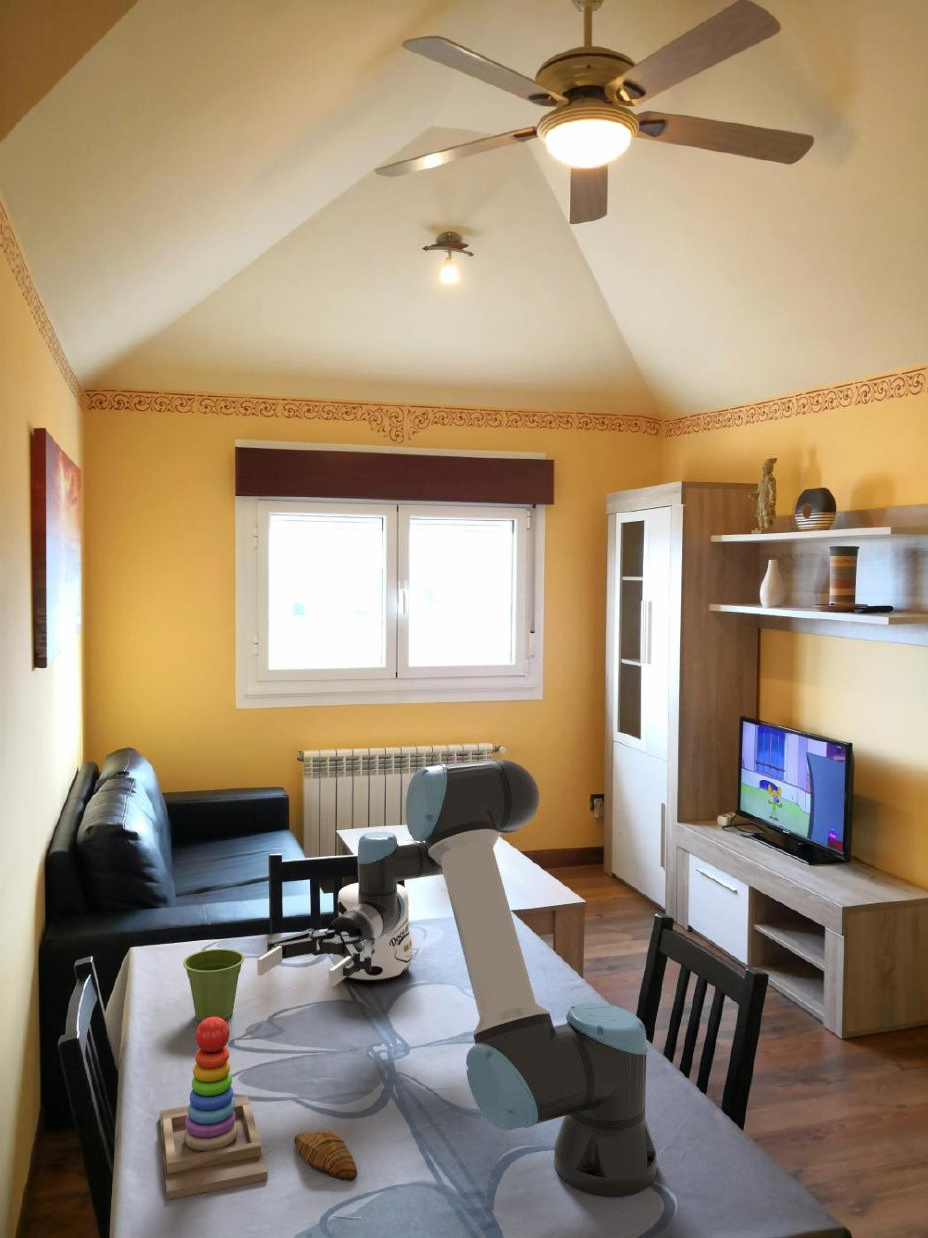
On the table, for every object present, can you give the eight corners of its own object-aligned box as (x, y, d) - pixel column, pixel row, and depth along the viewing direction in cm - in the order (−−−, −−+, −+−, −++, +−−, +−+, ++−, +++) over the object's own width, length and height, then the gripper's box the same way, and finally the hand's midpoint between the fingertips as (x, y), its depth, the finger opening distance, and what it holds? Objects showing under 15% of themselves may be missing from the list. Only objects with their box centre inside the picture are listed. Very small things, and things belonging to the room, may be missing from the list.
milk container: (423, 982, 213) (423, 899, 212) (344, 994, 207) (344, 909, 206) (398, 952, 229) (398, 876, 228) (325, 963, 223) (325, 884, 222)
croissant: (278, 1156, 150) (278, 1124, 150) (313, 1137, 155) (313, 1106, 155) (335, 1195, 141) (335, 1161, 141) (371, 1174, 146) (371, 1141, 146)
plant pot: (257, 1010, 199) (257, 955, 198) (214, 1034, 189) (214, 976, 188) (214, 997, 205) (213, 944, 204) (170, 1019, 195) (169, 963, 194)
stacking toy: (223, 1157, 147) (222, 1034, 146) (174, 1150, 149) (173, 1028, 148) (246, 1128, 155) (245, 1011, 154) (198, 1122, 157) (197, 1006, 156)
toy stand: (267, 1180, 144) (267, 1162, 144) (167, 1200, 139) (166, 1181, 139) (247, 1102, 164) (247, 1087, 164) (159, 1118, 160) (159, 1102, 160)
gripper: (416, 960, 179) (362, 1006, 159) (295, 942, 188) (231, 984, 168) (415, 919, 179) (362, 960, 159) (295, 903, 188) (230, 941, 168)
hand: (294, 973), depth 163 cm, fingers open, 13 cm apart
